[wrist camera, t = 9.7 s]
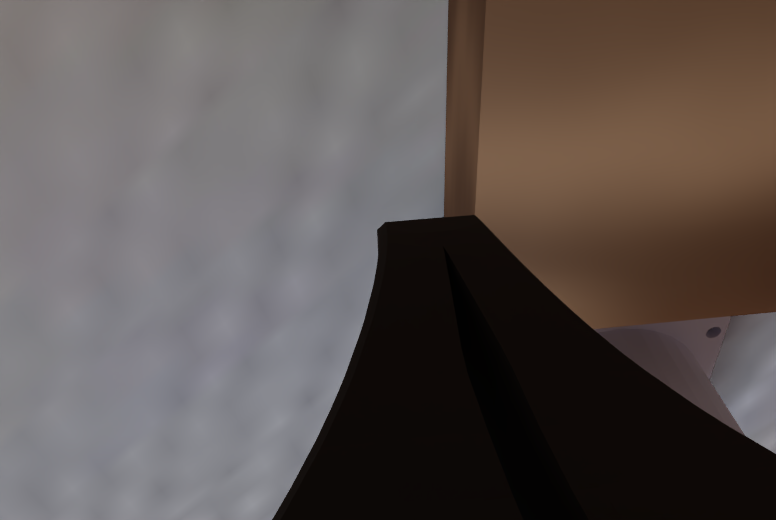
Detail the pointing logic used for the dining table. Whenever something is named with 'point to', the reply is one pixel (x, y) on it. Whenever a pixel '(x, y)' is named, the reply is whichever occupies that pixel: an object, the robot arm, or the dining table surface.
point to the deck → (621, 149)
